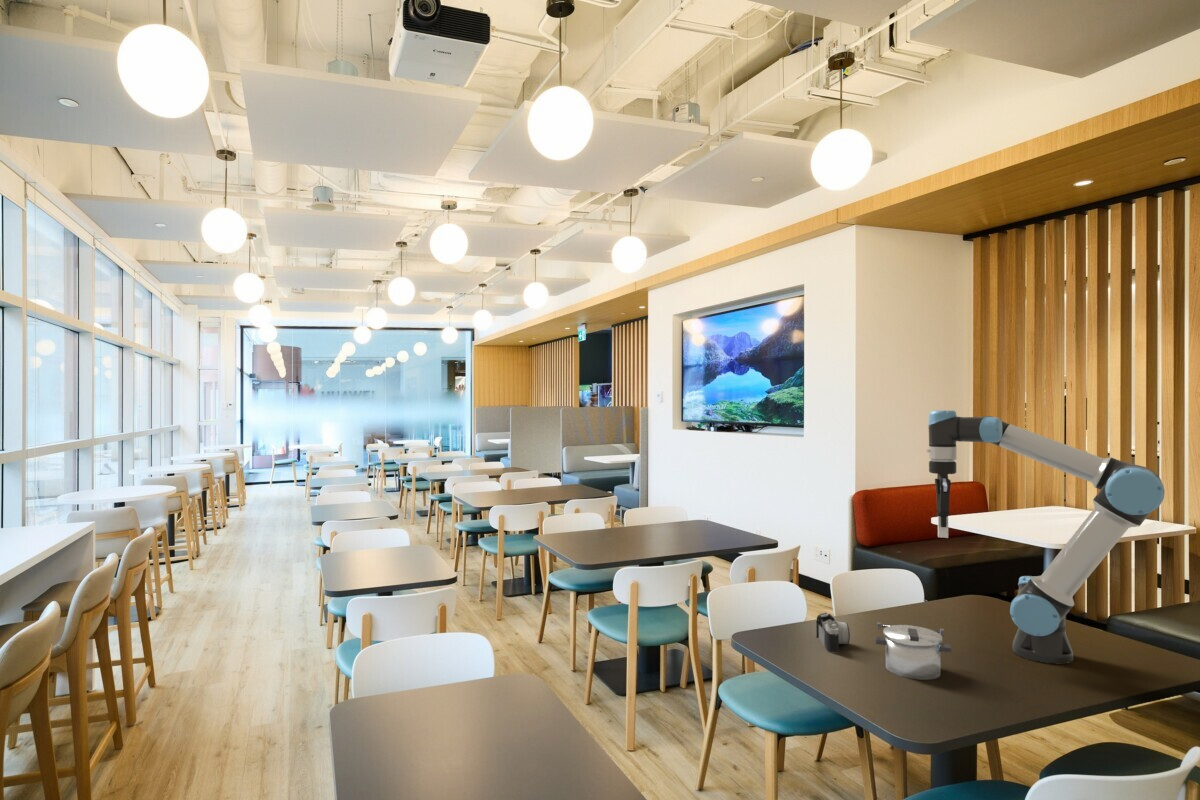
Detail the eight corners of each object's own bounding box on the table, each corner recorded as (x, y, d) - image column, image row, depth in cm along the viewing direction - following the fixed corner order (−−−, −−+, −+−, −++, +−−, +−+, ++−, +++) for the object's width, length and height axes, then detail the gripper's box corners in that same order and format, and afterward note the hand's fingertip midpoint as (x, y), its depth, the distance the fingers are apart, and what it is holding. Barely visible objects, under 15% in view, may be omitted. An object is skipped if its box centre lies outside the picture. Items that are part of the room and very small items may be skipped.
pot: (954, 685, 179) (953, 647, 179) (877, 676, 185) (876, 638, 185) (946, 664, 193) (945, 629, 193) (875, 656, 200) (874, 621, 200)
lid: (946, 651, 179) (945, 641, 179) (884, 644, 184) (884, 634, 184) (938, 632, 194) (938, 623, 194) (881, 627, 199) (881, 617, 199)
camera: (855, 656, 201) (854, 622, 201) (824, 655, 201) (824, 621, 202) (841, 638, 216) (841, 607, 216) (812, 637, 217) (812, 606, 217)
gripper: (926, 458, 214) (927, 532, 213) (931, 461, 201) (931, 540, 201) (953, 459, 211) (953, 534, 211) (959, 462, 199) (960, 542, 198)
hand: (943, 537), depth 206 cm, fingers closed
